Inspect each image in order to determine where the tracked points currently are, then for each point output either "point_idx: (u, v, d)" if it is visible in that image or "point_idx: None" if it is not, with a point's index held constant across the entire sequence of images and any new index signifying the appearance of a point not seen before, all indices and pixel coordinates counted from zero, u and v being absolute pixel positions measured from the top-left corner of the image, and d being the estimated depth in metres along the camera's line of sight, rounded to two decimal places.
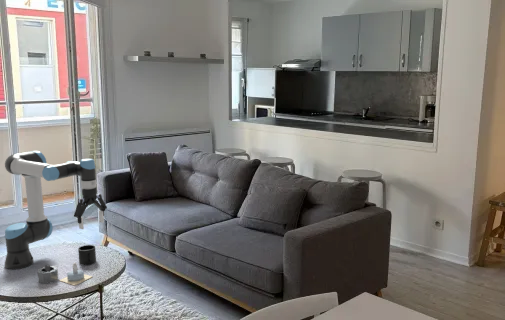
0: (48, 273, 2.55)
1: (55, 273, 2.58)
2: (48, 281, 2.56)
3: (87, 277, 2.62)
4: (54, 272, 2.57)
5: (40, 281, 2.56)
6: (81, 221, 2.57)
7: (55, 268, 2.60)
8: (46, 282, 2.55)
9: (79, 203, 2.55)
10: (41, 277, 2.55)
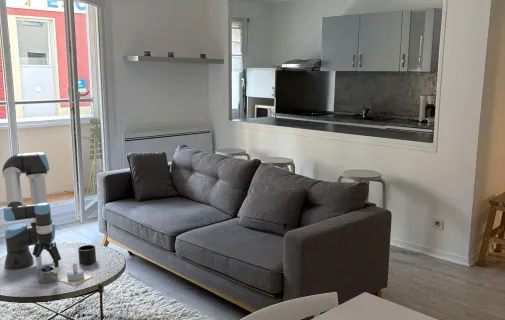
0: (48, 273, 2.55)
1: (55, 273, 2.58)
2: (48, 281, 2.56)
3: (87, 277, 2.62)
4: None
5: (40, 281, 2.56)
6: None
7: None
8: (46, 282, 2.55)
9: None
10: (41, 277, 2.55)
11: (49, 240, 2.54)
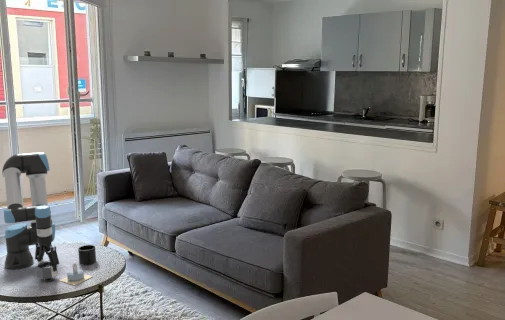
0: (48, 268, 2.55)
1: None
2: (48, 276, 2.56)
3: (87, 277, 2.62)
4: None
5: (40, 276, 2.56)
6: None
7: None
8: (46, 277, 2.55)
9: None
10: (40, 272, 2.55)
11: (49, 243, 2.54)
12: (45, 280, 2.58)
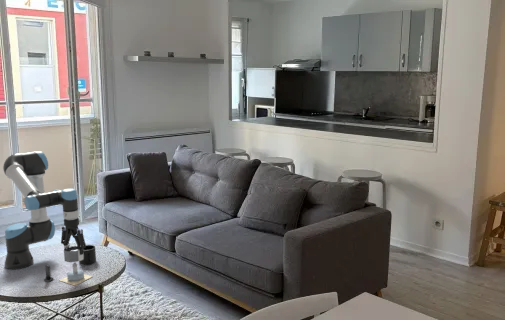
0: (74, 251, 2.54)
1: None
2: (74, 259, 2.54)
3: (87, 277, 2.62)
4: None
5: (66, 260, 2.55)
6: None
7: None
8: (72, 260, 2.54)
9: None
10: (67, 256, 2.54)
11: (76, 226, 2.54)
12: (45, 280, 2.58)
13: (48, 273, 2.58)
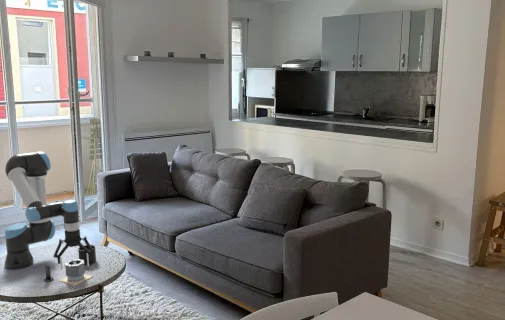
0: (82, 264, 2.58)
1: None
2: (82, 272, 2.59)
3: (87, 277, 2.62)
4: None
5: (74, 275, 2.56)
6: (60, 262, 2.56)
7: (79, 260, 2.63)
8: (81, 273, 2.58)
9: (58, 244, 2.55)
10: (75, 270, 2.55)
11: None
12: (45, 280, 2.58)
13: (48, 273, 2.58)
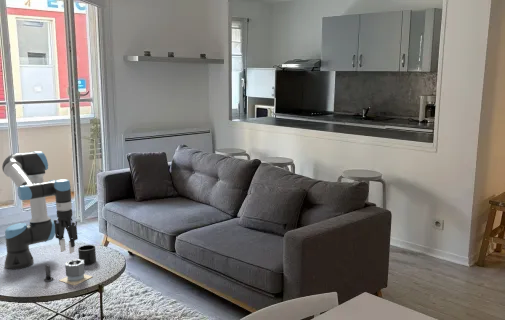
0: (82, 264, 2.58)
1: None
2: (82, 272, 2.59)
3: (87, 277, 2.62)
4: None
5: (74, 275, 2.56)
6: None
7: (79, 260, 2.63)
8: (81, 273, 2.58)
9: None
10: (75, 270, 2.55)
11: (70, 217, 2.50)
12: (45, 280, 2.58)
13: (48, 273, 2.58)
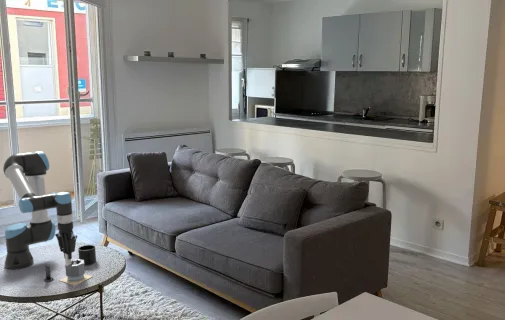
0: (82, 264, 2.58)
1: None
2: (82, 272, 2.59)
3: (87, 277, 2.62)
4: None
5: (74, 275, 2.56)
6: (65, 257, 2.54)
7: (79, 260, 2.63)
8: (81, 273, 2.58)
9: None
10: (75, 270, 2.55)
11: (71, 229, 2.51)
12: (45, 280, 2.58)
13: (48, 273, 2.58)
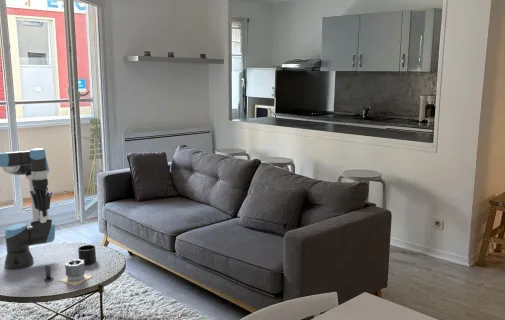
0: (82, 264, 2.58)
1: None
2: (82, 272, 2.59)
3: (87, 277, 2.62)
4: None
5: (74, 275, 2.56)
6: (40, 214, 2.53)
7: (79, 260, 2.63)
8: (81, 273, 2.58)
9: None
10: (75, 270, 2.55)
11: (45, 186, 2.49)
12: (45, 280, 2.58)
13: (48, 273, 2.58)
